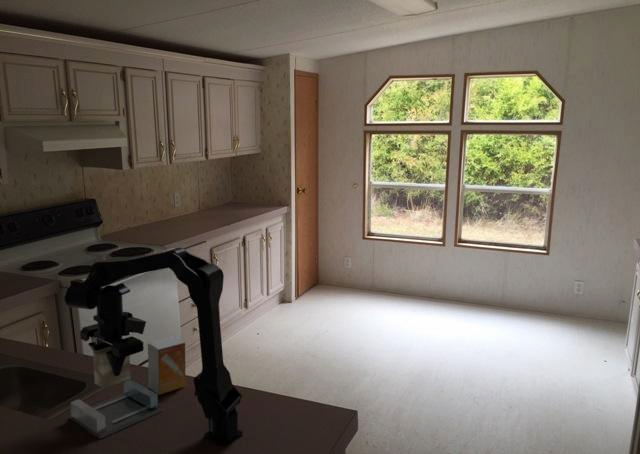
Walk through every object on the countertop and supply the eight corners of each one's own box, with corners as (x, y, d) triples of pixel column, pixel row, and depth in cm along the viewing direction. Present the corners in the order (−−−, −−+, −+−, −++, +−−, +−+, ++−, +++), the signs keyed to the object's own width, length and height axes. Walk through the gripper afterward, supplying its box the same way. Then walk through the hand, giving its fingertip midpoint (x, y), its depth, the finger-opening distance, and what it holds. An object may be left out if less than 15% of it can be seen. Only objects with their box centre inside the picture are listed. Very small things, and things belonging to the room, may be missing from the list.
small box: (159, 396, 135) (157, 349, 133) (148, 387, 139) (146, 342, 137) (186, 386, 140) (185, 342, 139) (175, 379, 145) (174, 335, 143)
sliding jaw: (157, 405, 127) (157, 394, 127) (150, 408, 126) (150, 396, 125) (131, 390, 134) (130, 379, 134) (124, 393, 133) (123, 382, 132)
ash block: (130, 378, 125) (129, 347, 123) (103, 388, 119) (101, 356, 118) (121, 373, 127) (120, 343, 126) (94, 383, 122) (93, 351, 120)
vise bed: (162, 411, 127) (162, 394, 127) (99, 439, 114) (98, 420, 114) (131, 393, 136) (130, 377, 135) (69, 418, 123) (68, 400, 122)
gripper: (162, 311, 121) (164, 373, 123) (119, 296, 132) (122, 353, 135) (119, 323, 112) (121, 389, 115) (77, 306, 124) (80, 366, 126)
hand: (112, 373), depth 123 cm, fingers closed on ash block, 4 cm apart
